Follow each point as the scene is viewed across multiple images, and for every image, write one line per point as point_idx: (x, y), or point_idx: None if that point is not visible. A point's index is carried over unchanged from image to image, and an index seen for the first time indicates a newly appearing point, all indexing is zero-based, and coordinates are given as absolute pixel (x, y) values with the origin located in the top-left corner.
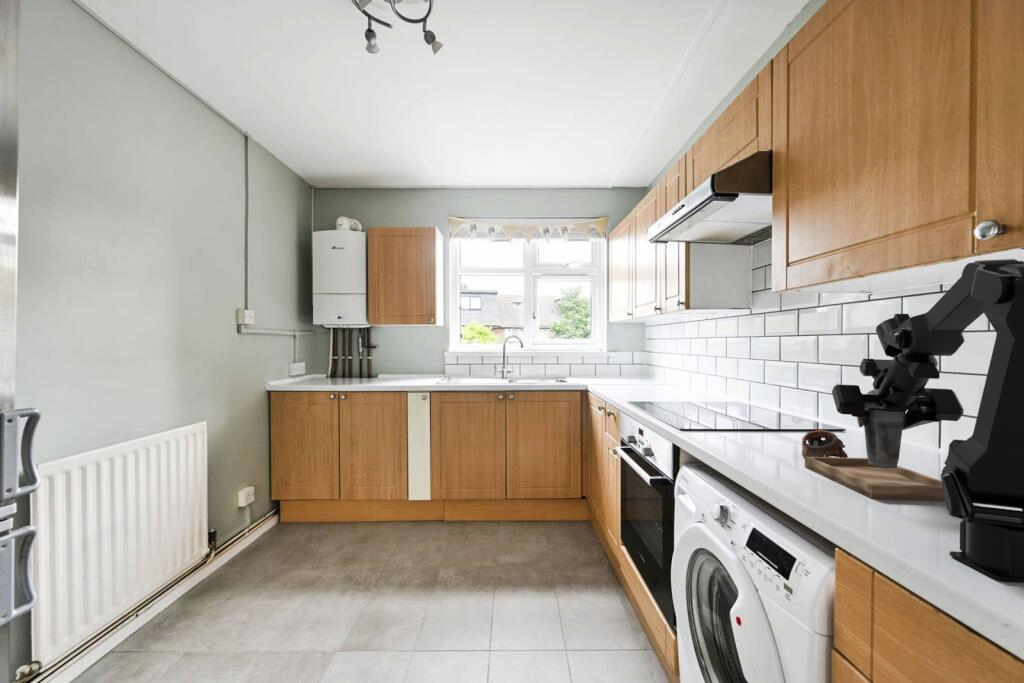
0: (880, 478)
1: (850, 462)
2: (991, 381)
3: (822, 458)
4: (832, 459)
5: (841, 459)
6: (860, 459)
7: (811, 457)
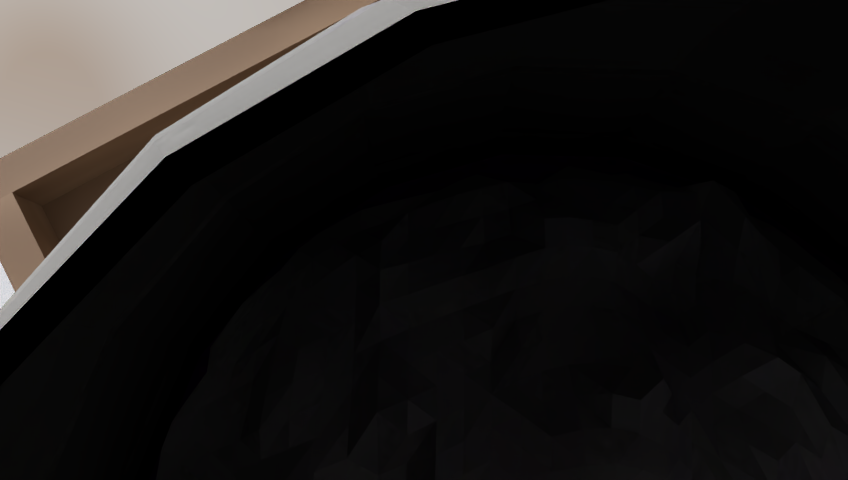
0: None
1: None
2: None
3: (95, 150)
4: (173, 112)
5: (238, 76)
6: (371, 3)
7: (9, 182)
